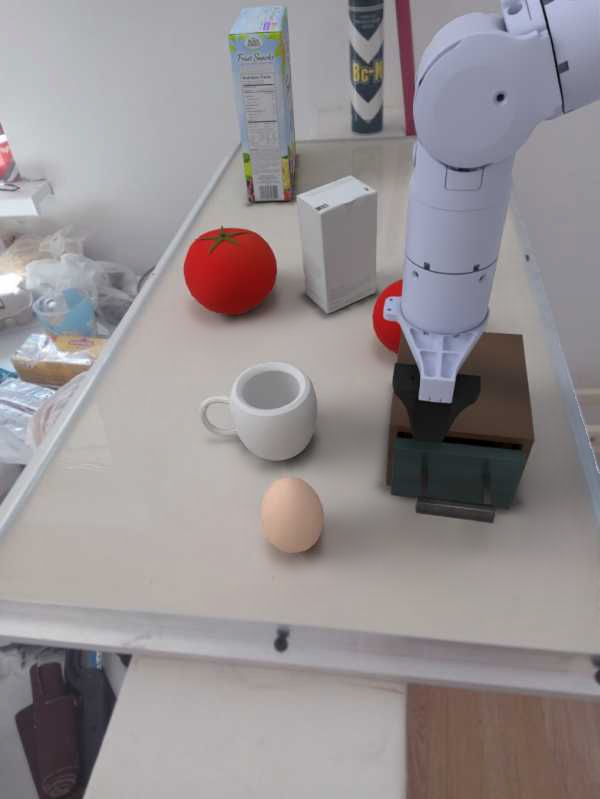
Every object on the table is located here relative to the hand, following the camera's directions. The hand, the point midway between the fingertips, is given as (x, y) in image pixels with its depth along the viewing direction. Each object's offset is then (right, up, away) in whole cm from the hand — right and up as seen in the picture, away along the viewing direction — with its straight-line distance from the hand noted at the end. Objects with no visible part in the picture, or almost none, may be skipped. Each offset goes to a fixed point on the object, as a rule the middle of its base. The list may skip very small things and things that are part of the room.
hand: (430, 402), depth 44 cm
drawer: (+4, -6, +8) cm, 11 cm away
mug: (-14, -4, +14) cm, 20 cm away
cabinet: (+5, -4, +12) cm, 13 cm away
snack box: (-15, +43, +61) cm, 76 cm away
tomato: (-19, +14, +32) cm, 40 cm away
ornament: (+3, +6, +22) cm, 23 cm away
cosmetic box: (-5, +14, +31) cm, 35 cm away
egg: (-11, -12, +5) cm, 17 cm away
